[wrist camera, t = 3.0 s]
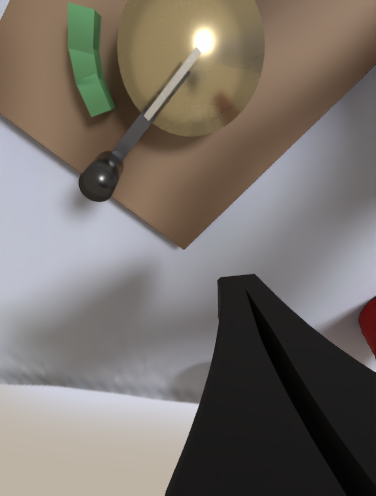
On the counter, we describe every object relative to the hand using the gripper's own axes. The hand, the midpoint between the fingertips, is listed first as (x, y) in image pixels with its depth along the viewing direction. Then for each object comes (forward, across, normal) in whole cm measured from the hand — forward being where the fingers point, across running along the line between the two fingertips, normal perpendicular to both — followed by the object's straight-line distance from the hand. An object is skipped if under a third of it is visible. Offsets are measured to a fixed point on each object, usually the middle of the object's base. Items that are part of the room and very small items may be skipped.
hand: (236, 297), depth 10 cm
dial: (+7, +2, -6) cm, 9 cm away
